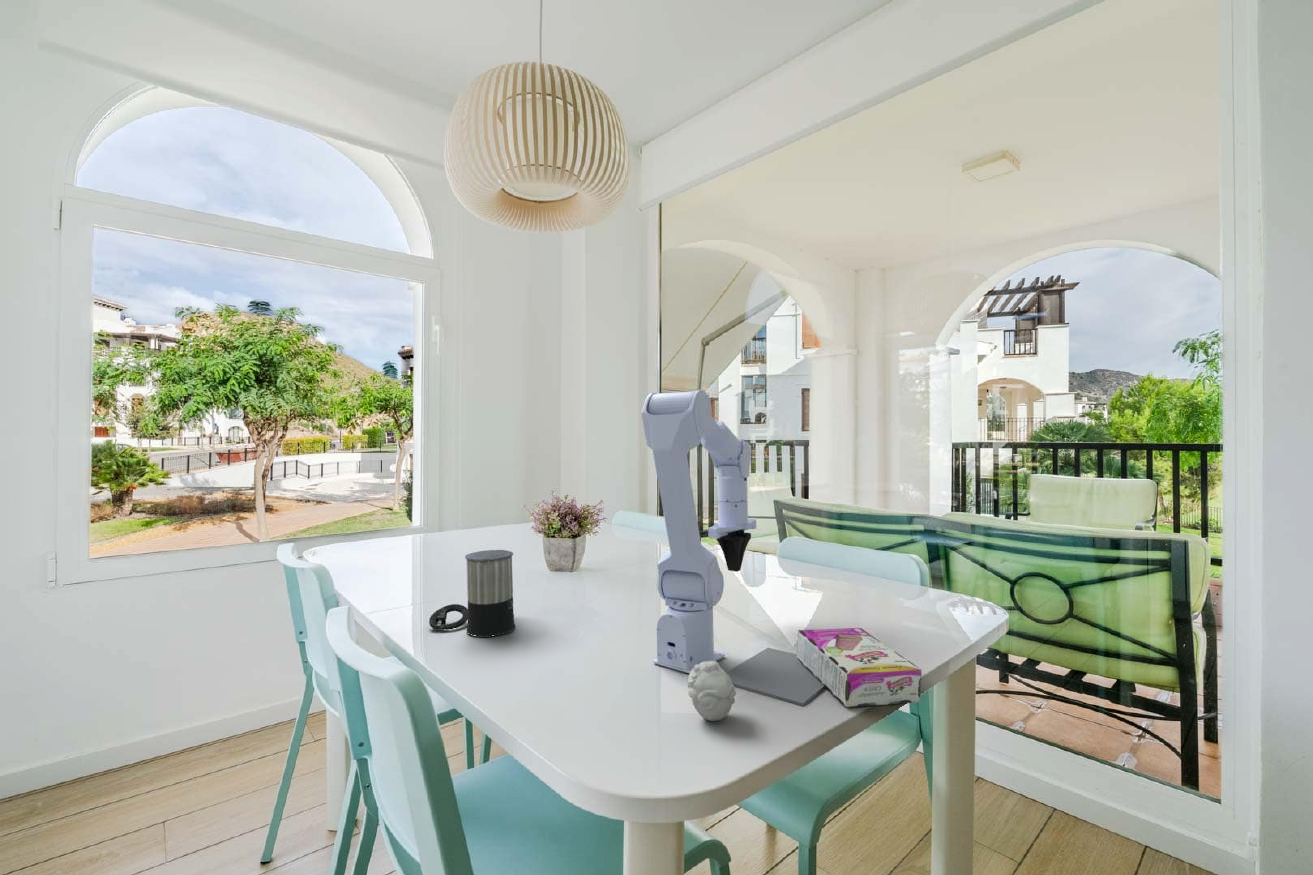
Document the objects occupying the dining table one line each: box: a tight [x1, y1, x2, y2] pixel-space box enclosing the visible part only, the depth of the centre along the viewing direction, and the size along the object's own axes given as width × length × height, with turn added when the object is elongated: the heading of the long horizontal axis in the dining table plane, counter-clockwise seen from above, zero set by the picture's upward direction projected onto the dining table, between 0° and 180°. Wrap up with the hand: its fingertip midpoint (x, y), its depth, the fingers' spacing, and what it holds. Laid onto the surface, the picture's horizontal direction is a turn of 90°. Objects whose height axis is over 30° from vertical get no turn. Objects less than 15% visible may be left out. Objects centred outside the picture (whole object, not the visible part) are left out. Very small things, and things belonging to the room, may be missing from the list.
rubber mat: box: [725, 647, 827, 707], centre depth 90 cm, size 16×14×1 cm
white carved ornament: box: [687, 661, 737, 722], centre depth 77 cm, size 6×7×7 cm
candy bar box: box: [796, 627, 922, 708], centre depth 87 cm, size 11×5×16 cm
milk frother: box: [428, 549, 516, 637], centre depth 116 cm, size 14×16×15 cm
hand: (734, 570), depth 115 cm, fingers closed
